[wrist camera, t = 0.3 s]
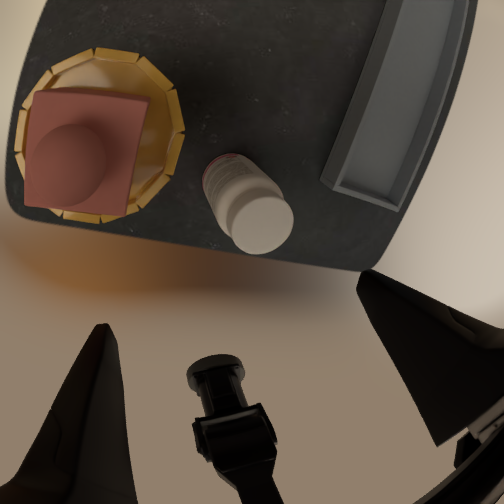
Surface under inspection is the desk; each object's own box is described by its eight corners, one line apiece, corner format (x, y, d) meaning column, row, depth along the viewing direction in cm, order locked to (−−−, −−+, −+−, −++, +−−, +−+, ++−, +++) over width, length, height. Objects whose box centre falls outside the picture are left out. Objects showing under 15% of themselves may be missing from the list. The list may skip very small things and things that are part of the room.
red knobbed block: (131, 186, 13) (120, 255, 8) (48, 177, 11) (-2, 240, 6) (151, 97, 11) (146, 107, 6) (61, 87, 9) (0, 97, 4)
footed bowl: (155, 174, 21) (158, 233, 14) (60, 158, 18) (11, 211, 10) (186, 75, 18) (208, 70, 10) (84, 56, 14) (36, 43, 7)
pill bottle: (194, 199, 24) (214, 255, 17) (211, 146, 22) (240, 181, 15) (245, 209, 26) (282, 263, 19) (264, 160, 24) (311, 199, 17)
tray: (384, 202, 31) (398, 212, 29) (318, 180, 26) (332, 190, 25) (457, -19, 15) (471, -18, 13) (407, -69, 10) (421, -72, 8)
